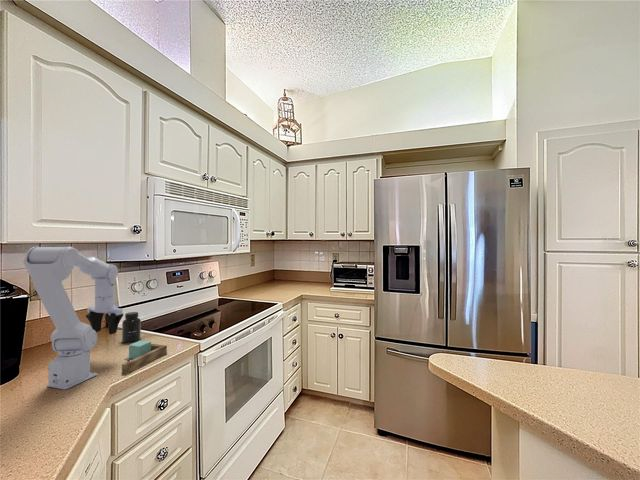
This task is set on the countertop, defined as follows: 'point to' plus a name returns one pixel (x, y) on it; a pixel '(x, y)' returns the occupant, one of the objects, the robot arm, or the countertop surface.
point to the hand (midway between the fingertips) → (104, 332)
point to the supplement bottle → (131, 327)
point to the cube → (139, 349)
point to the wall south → (142, 360)
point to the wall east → (155, 346)
